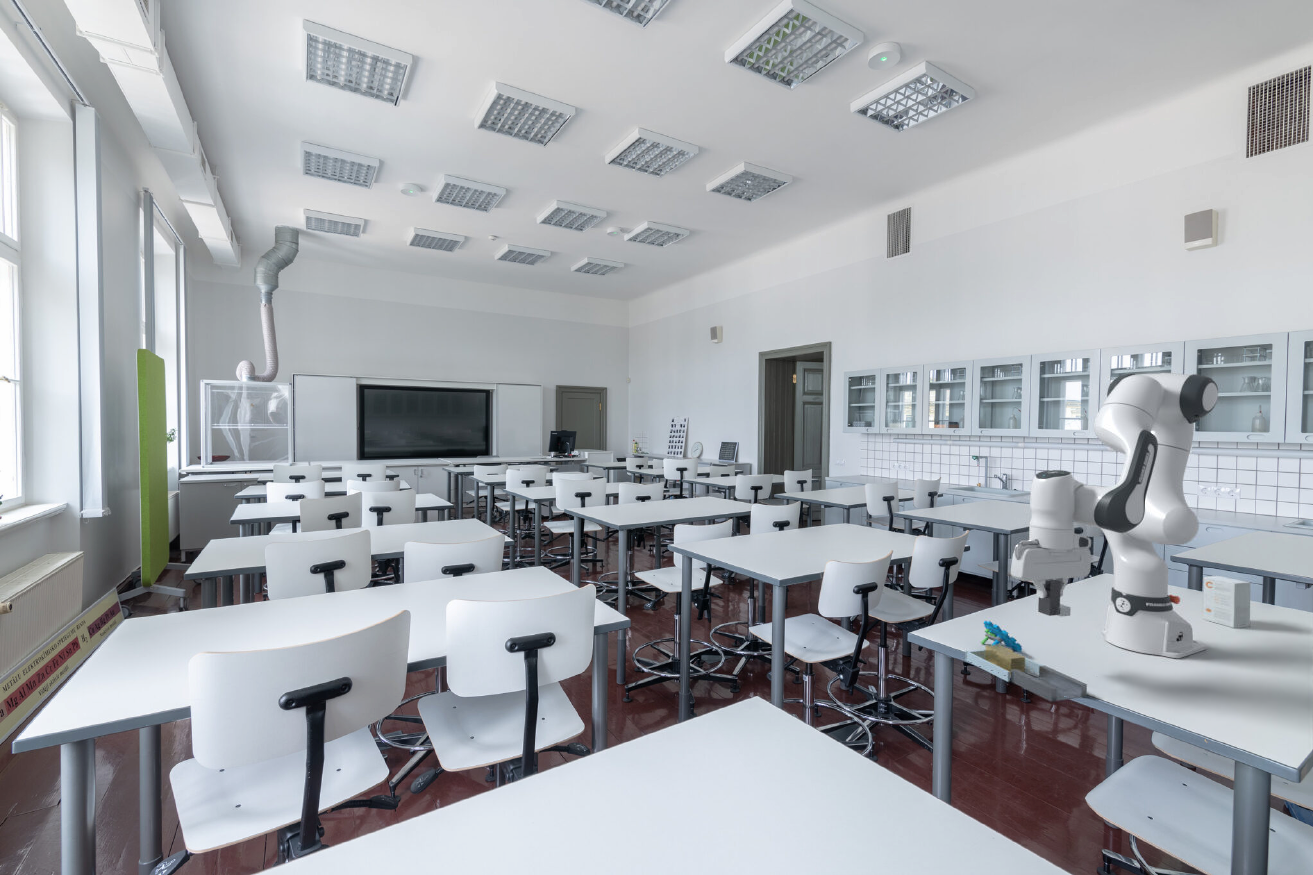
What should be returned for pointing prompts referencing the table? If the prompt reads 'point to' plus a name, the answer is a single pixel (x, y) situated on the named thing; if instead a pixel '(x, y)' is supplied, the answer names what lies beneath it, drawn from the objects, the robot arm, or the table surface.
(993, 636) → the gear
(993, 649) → the tan block
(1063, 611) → the dark grey stepped block
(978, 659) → the tray
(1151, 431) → the robot arm
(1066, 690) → the slot rail
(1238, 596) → the small box
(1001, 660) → the chip
